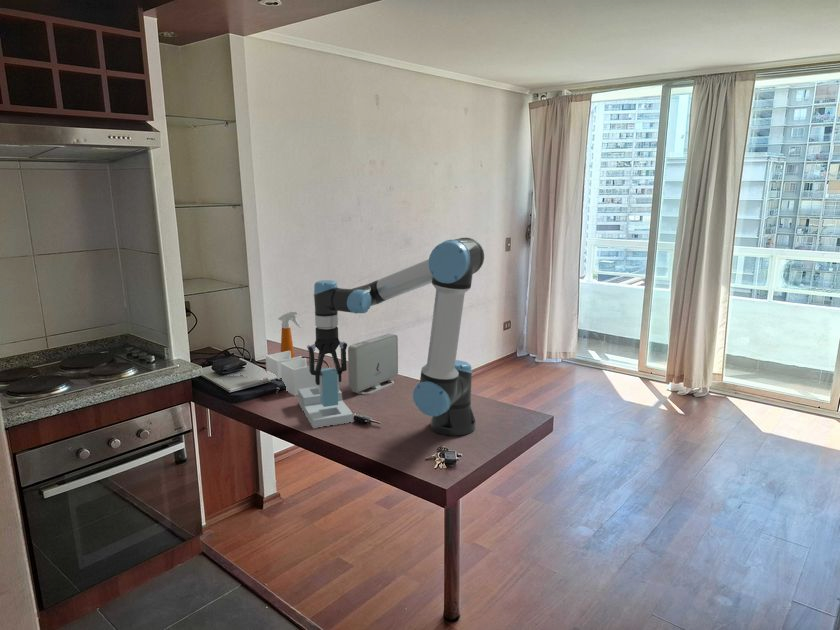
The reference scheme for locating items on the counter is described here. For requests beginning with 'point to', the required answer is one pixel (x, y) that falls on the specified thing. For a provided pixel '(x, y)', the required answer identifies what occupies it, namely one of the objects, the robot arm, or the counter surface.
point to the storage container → (291, 371)
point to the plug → (329, 387)
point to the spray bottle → (288, 332)
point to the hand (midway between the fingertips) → (328, 391)
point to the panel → (323, 409)
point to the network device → (373, 363)
